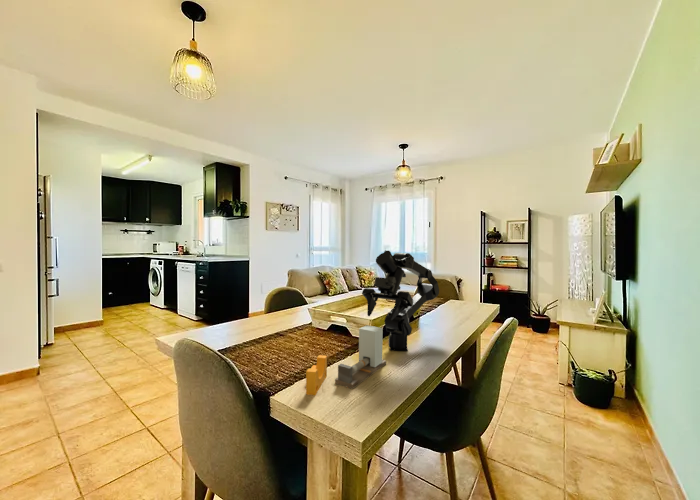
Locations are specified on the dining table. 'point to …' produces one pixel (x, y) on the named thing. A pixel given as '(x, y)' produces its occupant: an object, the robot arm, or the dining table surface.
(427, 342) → the dining table surface
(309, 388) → the pipe clamp
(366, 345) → the sleeve
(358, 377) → the pipe rig
